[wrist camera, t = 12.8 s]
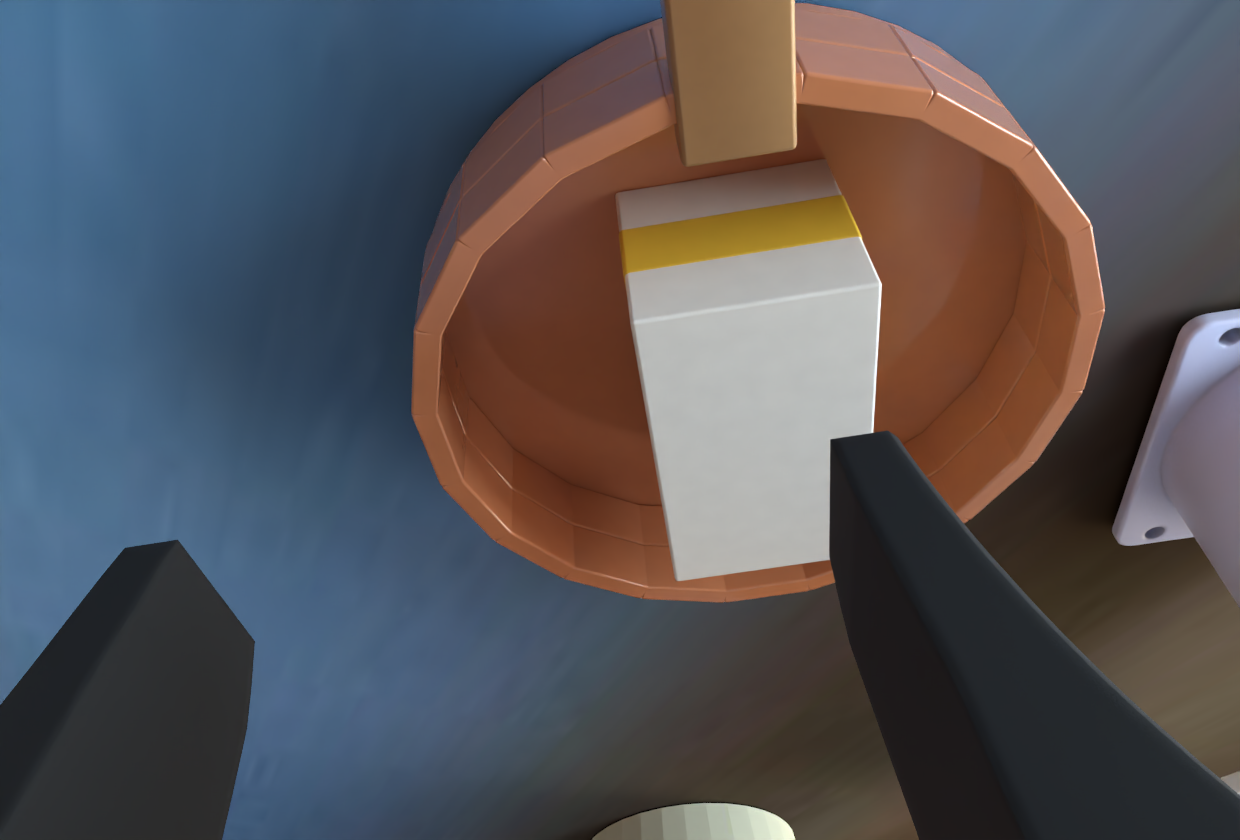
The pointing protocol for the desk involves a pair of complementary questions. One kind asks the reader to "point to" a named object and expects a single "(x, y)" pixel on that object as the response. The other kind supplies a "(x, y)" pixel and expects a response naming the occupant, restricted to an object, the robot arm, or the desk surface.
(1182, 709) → the desk surface
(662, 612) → the desk surface
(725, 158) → the pan handle
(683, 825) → the reusable coffee cup
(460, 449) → the pan
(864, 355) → the tea packet
